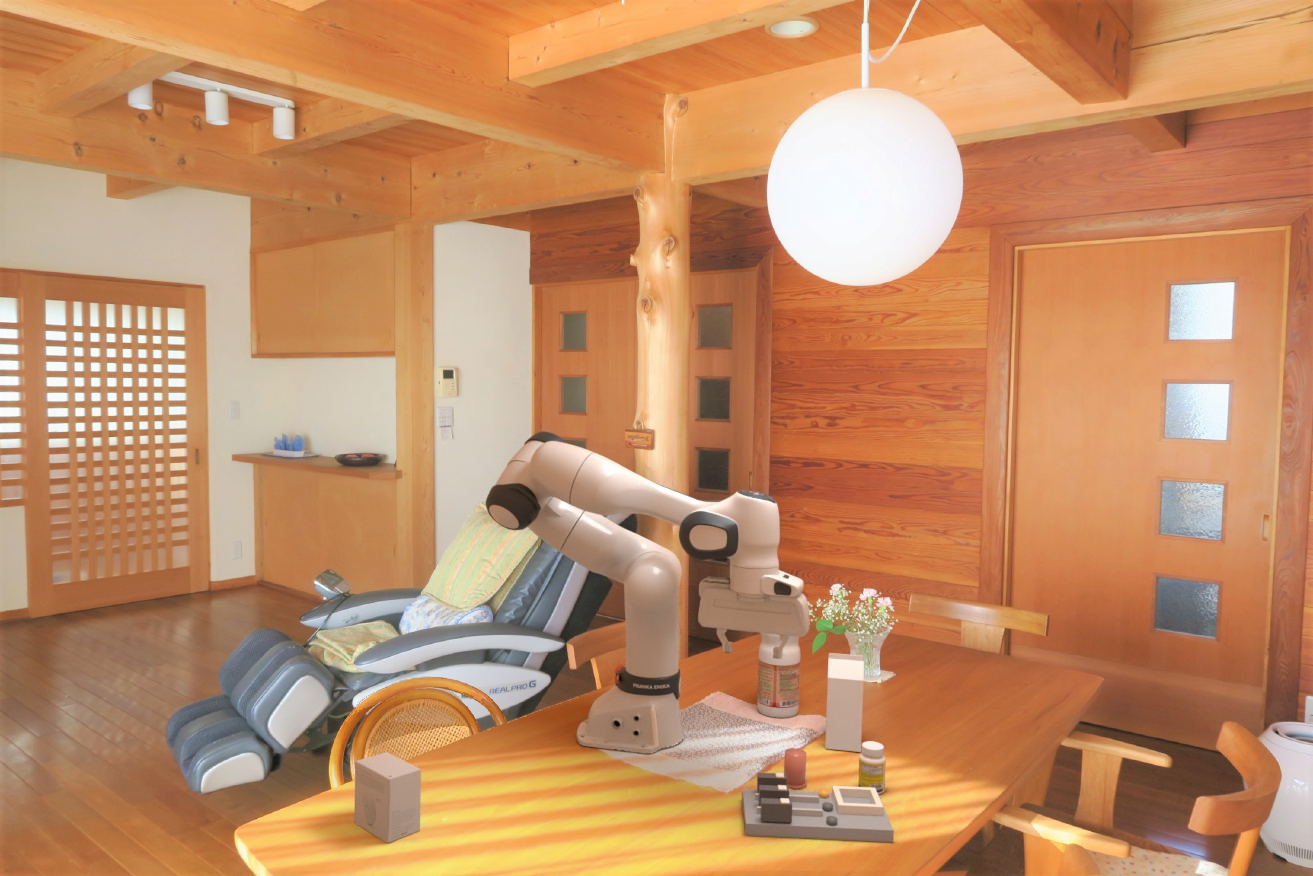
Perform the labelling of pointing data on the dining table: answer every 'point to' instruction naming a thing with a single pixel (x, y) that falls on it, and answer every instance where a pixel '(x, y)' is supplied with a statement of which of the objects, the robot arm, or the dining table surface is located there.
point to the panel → (824, 815)
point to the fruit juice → (778, 677)
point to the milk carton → (844, 702)
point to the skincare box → (387, 796)
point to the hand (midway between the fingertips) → (752, 655)
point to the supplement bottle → (872, 766)
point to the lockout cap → (795, 768)
